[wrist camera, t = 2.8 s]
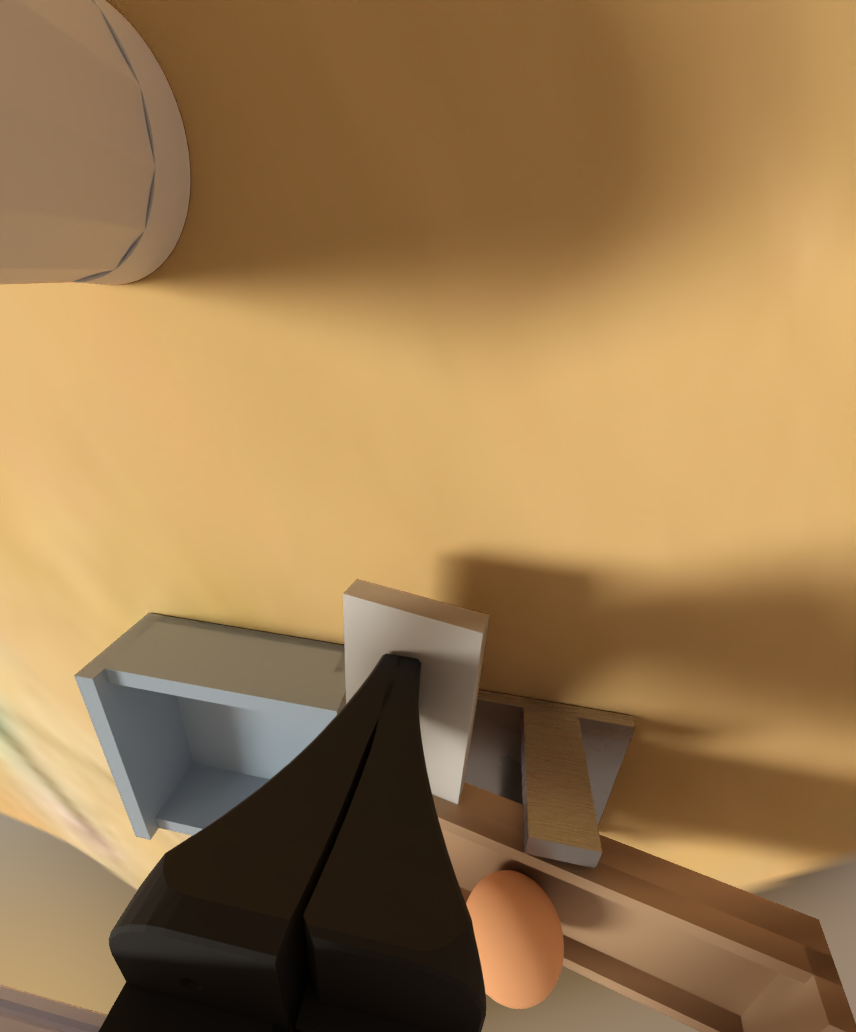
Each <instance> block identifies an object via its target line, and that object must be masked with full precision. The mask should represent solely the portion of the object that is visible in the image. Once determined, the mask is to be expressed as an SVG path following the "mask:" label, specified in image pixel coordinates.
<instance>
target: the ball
mask: <svg viewBox="0 0 856 1032" xmlns="http://www.w3.org/2000/svg"><path fill="white" fill-rule="evenodd" d="M466 905H467V908H468V911H469V913H470V916H471V919H472V923H473V929H474V934H475V939H476V943H477V948H478V952H479V957H480V962H481V967H482V973H483V979H484V985H485V993H486V994H487V995H488V996H490V997H491V998H492V999H493V1000H495V1001H496V1002H498V1003H500V1004H501V1005H504V1006H506V1007H509V1008H514V1009H524V1008H529V1007H532V1006H535V1005H537V1004H538V1003H540V1002H541V1001H543V1000H544V999H545V998H546V997H547V996H548V995H549V994H550V993H551V991H552V990H553V988H554V987H555V985H556V983H557V981H558V978H559V976H560V973H561V969H562V964H563V957H564V940H563V932H562V927H561V923H560V920H559V917H558V914H557V912H556V909H555V907H554V905H553V903H552V901H551V900H550V898H549V897H548V895H547V894H546V892H545V891H544V890H543V889H542V888H541V887H540V885H539V884H537V883H536V882H535V881H534V880H533V879H531V878H530V877H528V876H526V875H524V874H522V873H520V872H517V871H512V870H501V871H497V872H493V873H491V874H489V875H487V876H486V877H484V878H483V879H482V880H481V881H480V882H478V884H477V885H476V886H475V887H474V889H473V890H472V892H471V894H470V895H469V898H468V900H467V903H466Z"/></svg>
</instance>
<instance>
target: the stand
mask: <svg viewBox="0 0 856 1032" xmlns="http://www.w3.org/2000/svg"><path fill="white" fill-rule="evenodd" d="M634 730H635V724H634V721H633V718H632V716H630V715H624V714H618V713H612V712H606V711H601V710H595V709H589V708H583V707H577V706H572V705H566V704H560V703H554V702H548V701H542V700H537V699H531V698H525V697H519V696H513V695H508V694H502V693H496V692H490V691H484V690H479V691H478V697H477V704H476V711H475V717H474V724H473V730H472V737H471V744H470V750H469V757H468V763H467V770H466V777H465V783H468V784H471V785H473V786H476V787H478V788H481V789H483V790H486V791H489V792H491V793H494V794H496V795H499V796H501V797H504V798H507V799H509V800H512V801H514V802H517V803H520V804H522V805H523V828H524V853H526V854H530V855H535V856H540V857H544V858H549V859H554V860H558V861H563V862H568V863H572V864H577V865H582V866H586V867H591V868H596V867H597V864H598V862H599V859H600V857H601V854H602V848H601V842H600V837H599V831H598V824H599V822H600V819H601V816H602V814H603V811H604V809H605V806H606V803H607V801H608V798H609V795H610V793H611V790H612V787H613V785H614V782H615V780H616V777H617V774H618V772H619V769H620V766H621V764H622V761H623V759H624V756H625V753H626V751H627V748H628V745H629V743H630V740H631V738H632V735H633V732H634Z"/></svg>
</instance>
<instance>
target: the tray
mask: <svg viewBox="0 0 856 1032" xmlns="http://www.w3.org/2000/svg"><path fill="white" fill-rule="evenodd" d="M74 676H75V679H76V681H77V684H78V687H79V689H80V692H81V695H82V697H83V700H84V702H85V705H86V708H87V710H88V713H89V715H90V718H91V721H92V723H93V726H94V728H95V731H96V734H97V736H98V739H99V742H100V744H101V747H102V749H103V752H104V755H105V757H106V760H107V762H108V765H109V768H110V770H111V773H112V775H113V778H114V781H115V783H116V786H117V788H118V791H119V794H120V796H121V799H122V802H123V804H124V807H125V809H126V812H127V815H128V817H129V820H130V822H131V825H132V828H133V830H134V833H135V835H136V837H140V838H145V839H149V840H151V838H152V837H153V835H154V834H155V833H156V831H157V830H158V828H162V829H166V830H171V831H175V832H179V833H184V834H188V835H192V836H193V835H194V834H196V833H198V832H199V831H201V830H202V829H204V828H205V827H207V826H208V825H210V824H211V823H213V822H214V821H216V820H217V819H219V818H220V817H221V816H223V815H224V814H226V813H227V812H228V811H230V810H231V809H232V808H234V807H235V806H236V805H238V804H239V803H240V802H242V801H243V800H244V799H246V798H247V797H248V796H250V795H251V794H252V793H254V792H255V791H256V790H258V789H259V788H260V787H261V786H263V785H264V784H265V783H266V782H268V781H269V780H270V779H271V778H272V777H273V776H275V775H276V774H277V773H278V772H279V771H280V770H282V769H283V768H284V767H285V766H286V765H287V764H289V763H290V762H291V761H292V760H293V759H294V758H295V757H296V756H297V755H298V754H300V753H301V752H302V751H303V750H304V749H305V748H306V747H307V746H308V745H309V744H310V743H311V742H312V741H313V740H314V739H315V738H316V737H317V736H318V735H319V734H320V733H321V732H322V731H323V730H324V729H325V727H326V726H327V725H328V724H329V723H330V722H331V721H332V720H333V719H334V718H335V717H336V716H337V714H338V713H339V712H340V711H341V710H342V709H343V708H344V706H345V705H346V683H345V646H344V645H339V644H333V643H327V642H321V641H315V640H309V639H303V638H297V637H291V636H285V635H279V634H273V633H267V632H261V631H255V630H249V629H243V628H237V627H231V626H225V625H219V624H213V623H207V622H200V621H194V620H188V619H182V618H176V617H170V616H164V615H158V614H152V613H148V614H147V615H146V616H144V617H143V618H142V619H141V620H140V621H139V622H137V623H136V624H135V625H134V626H133V627H131V628H130V629H129V630H128V631H127V632H125V633H124V634H123V635H122V636H121V637H120V638H118V639H117V640H116V641H115V642H114V643H112V644H111V645H110V646H109V647H108V648H106V649H105V650H104V651H103V652H102V653H100V654H99V655H98V656H97V657H96V658H95V659H93V660H92V661H91V662H90V663H89V664H87V665H86V666H85V667H84V668H83V669H81V670H80V671H79V672H78V673H77V674H76V675H74Z"/></svg>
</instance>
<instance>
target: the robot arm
mask: <svg viewBox="0 0 856 1032" xmlns="http://www.w3.org/2000/svg"><path fill="white" fill-rule="evenodd" d="M420 674H421V662H420V661H419V660H418V659H416V658H411V657H405V656H398V655H392V654H384V655H383V656H382V657H381V658H380V660H379V662H378V663H377V665H376V666H375V668H374V669H373V671H372V672H371V673H370V675H369V676H368V677H367V679H366V680H365V681H364V683H363V684H362V685H361V687H360V688H359V689H358V691H357V692H356V693H355V694H354V695H353V697H352V698H351V699H350V700H349V702H348V703H347V704H346V705H345V706H344V708H343V709H342V710H341V711H340V712H339V713H338V714H337V716H336V717H335V718H334V719H333V720H332V721H331V722H330V723H329V724H328V725H327V726H326V727H325V729H324V730H323V731H322V732H321V733H320V734H319V735H318V736H317V737H316V738H315V739H314V740H313V741H312V742H311V743H310V744H309V745H308V746H307V747H306V748H305V749H304V750H303V751H302V752H301V753H300V754H298V755H297V756H296V757H295V758H294V759H293V760H292V761H291V762H290V763H289V764H287V765H286V766H285V767H284V768H283V769H282V770H280V771H279V772H278V773H277V774H276V775H275V776H273V777H272V778H271V779H270V780H269V781H268V782H266V783H265V784H264V785H263V786H261V787H260V788H259V789H258V790H256V791H255V792H254V793H252V794H251V795H250V796H248V797H247V798H246V799H244V800H243V801H242V802H240V803H239V804H238V805H236V806H235V807H234V808H232V809H231V810H230V811H228V812H227V813H226V814H224V815H223V816H221V817H220V818H219V819H217V820H216V821H214V822H213V823H211V824H210V825H208V826H207V827H205V828H204V829H202V830H201V831H199V832H198V833H196V834H194V835H193V836H191V837H190V838H188V839H187V840H185V841H184V842H182V843H181V844H179V845H177V846H176V847H174V848H173V849H171V850H170V851H168V852H167V853H165V854H164V856H163V857H162V858H161V860H160V861H159V862H158V863H157V865H156V866H155V867H154V869H153V870H152V871H151V873H150V874H149V875H148V877H147V878H146V879H145V881H144V882H143V883H142V885H141V886H140V887H139V889H138V890H137V892H136V894H135V895H134V897H133V899H132V900H131V902H130V903H129V905H128V906H127V908H126V909H125V911H124V913H123V914H122V916H121V917H120V919H119V920H118V922H117V924H116V925H115V927H114V928H113V930H112V931H111V934H110V937H109V946H110V949H111V952H112V955H113V957H114V959H115V961H116V963H117V965H118V966H119V968H120V970H121V972H122V974H123V976H124V978H125V980H126V984H125V985H124V987H123V989H122V991H121V992H120V994H119V996H118V998H117V1000H116V1001H115V1003H114V1005H113V1007H112V1008H111V1010H110V1012H109V1014H108V1015H106V1014H102V1013H99V1012H95V1011H92V1010H88V1009H84V1008H81V1007H77V1006H74V1005H70V1004H66V1003H63V1002H60V1001H56V1000H52V999H49V998H46V997H42V996H38V995H35V994H31V993H28V992H24V991H20V990H17V989H14V988H10V987H6V986H3V985H0V1032H481V1030H482V1027H483V1023H484V1019H485V1016H486V995H485V985H484V979H483V973H482V967H481V962H480V957H479V952H478V948H477V943H476V939H475V934H474V929H473V923H472V919H471V916H470V913H469V911H468V908H467V905H466V903H465V900H464V897H463V895H462V892H461V889H460V886H459V884H458V881H457V878H456V875H455V872H454V869H453V866H452V863H451V860H450V857H449V854H448V851H447V847H446V844H445V840H444V837H443V833H442V830H441V826H440V823H439V819H438V816H437V812H436V808H435V804H434V800H433V796H432V792H431V787H430V783H429V778H428V773H427V768H426V763H425V757H424V751H423V744H422V738H421V730H420V719H419V707H418V702H419V688H420Z"/></svg>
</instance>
